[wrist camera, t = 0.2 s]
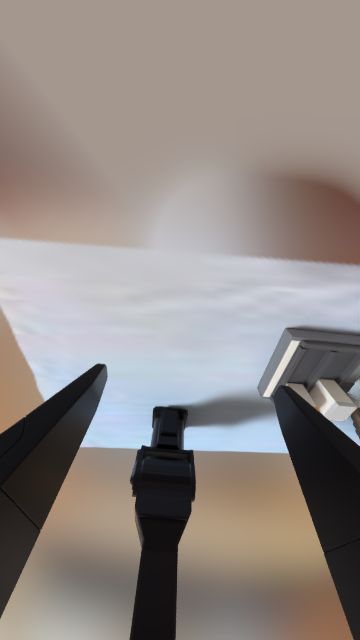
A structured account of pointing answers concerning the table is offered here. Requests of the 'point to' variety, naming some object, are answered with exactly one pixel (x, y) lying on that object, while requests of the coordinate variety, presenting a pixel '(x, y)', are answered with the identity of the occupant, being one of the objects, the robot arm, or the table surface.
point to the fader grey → (332, 400)
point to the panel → (312, 361)
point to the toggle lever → (354, 399)
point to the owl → (356, 420)
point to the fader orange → (303, 393)
